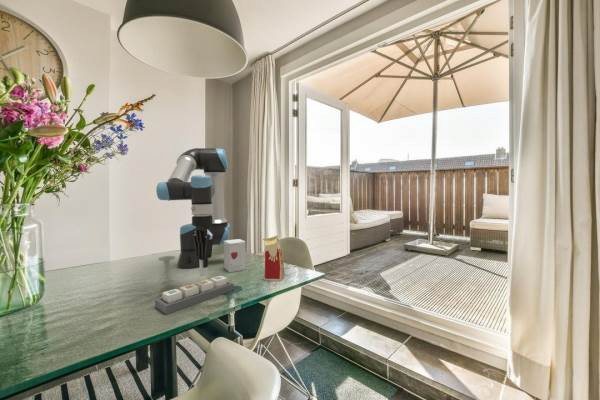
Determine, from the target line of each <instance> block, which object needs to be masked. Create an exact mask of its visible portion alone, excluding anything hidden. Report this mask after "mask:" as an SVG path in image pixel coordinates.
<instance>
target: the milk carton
mask: <svg viewBox="0 0 600 400" xmlns="http://www.w3.org/2000/svg"><path fill="white" fill-rule="evenodd" d="M262 240H263V241H264V271H263V272H264V273H263V280H264V281H268V282H269V281H272V282H273V281H277V282H281V281H282V279H283V278H284V276H285V274H286V273H285V263H284V256H283V252H282V248H281V244H280V239H279V235H275V236H272V237H267V238H262Z"/></svg>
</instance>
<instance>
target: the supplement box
mask: <svg viewBox="0 0 600 400" xmlns="http://www.w3.org/2000/svg"><path fill="white" fill-rule="evenodd" d="M246 250H247V249H246V241H245V240H243V239H241V238H238V239H237V238H235V239H229V240H226V241H224V244H223V264H224V266H223V269H225V270H226V271H227V272H228V273H233V272H238V271H239V272H240V271H245V270H247V264H246V263H247V262H246V259H247V257H246Z"/></svg>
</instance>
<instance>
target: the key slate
mask: <svg viewBox="0 0 600 400" xmlns="http://www.w3.org/2000/svg"><path fill="white" fill-rule="evenodd" d="M209 281H212V282H213V286H214V287H216V288H217V287H220V286H223V285H226V284H227V281H228V278H227V277H226V276H223V275H217V276H213V277H211V278H210V279H209Z"/></svg>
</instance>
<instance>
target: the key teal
mask: <svg viewBox="0 0 600 400" xmlns="http://www.w3.org/2000/svg"><path fill="white" fill-rule="evenodd" d="M161 294H162V295H161V296H162V297H163V300H164V301H165V302H167V303H171V302H174V301H177V300H181V299H182V291H180V289H178V288H174V289H170V290H167V291H163V292H161Z"/></svg>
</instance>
